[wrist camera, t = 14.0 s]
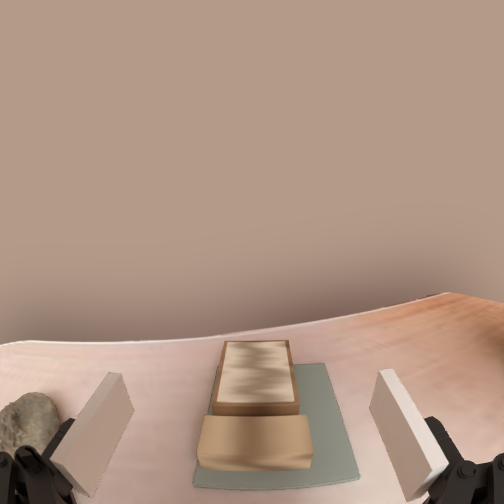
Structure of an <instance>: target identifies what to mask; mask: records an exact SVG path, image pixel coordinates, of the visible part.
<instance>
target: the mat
mask: <svg viewBox="0 0 504 504" xmlns="http://www.w3.org/2000/svg"><path fill="white" fill-rule="evenodd" d="M293 369H294V375H295V380H296V386H297V392H298V397H299V403H300V407H299V415H306V414H307V418H308V424H309V429H310V435H311V440H312V446H313V457H312V461H311V465H310V469H300V470H285V471H224V470H209V469H201V466H200V463H199V459H198V462H197V467H196V471H195V476H194V481H193V486H195V487H204V488H216V489H233V490H278V489H295V488H306V487H316V486H324V485H331V484H337V483H343V482H349V481H354V480H359V479H360V474H359V471H358V467H357V464H356V461H355V457H354V454H353V451H352V448H351V444H350V441H349V438H348V435H347V431H346V428H345V425H344V422H343V419H342V416H341V413H340V409H339V406H338V403H337V400H336V397H335V394H334V391H333V388H332V385H331V382H330V379H329V376H328V373H327V370H326V367H325V364H324V363H317V364H302V365H293ZM218 370H219V366H218V367H217V372H216V377H215V381H214V386H213V391H212V395H211V400H210V405H209V409H208V414H207V415H211V416H213V412H212V406H211V405H212V400H213V395H214V390H215V385H216V380H217V375H218Z"/></svg>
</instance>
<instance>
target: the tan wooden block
mask: <svg viewBox="0 0 504 504" xmlns="http://www.w3.org/2000/svg"><path fill="white" fill-rule="evenodd" d="M197 456H198V459H199V463H200V466H201V469H209V470H224V471H285V470H300V469H310V465H311V461H312V457H313V446H312V440H311V435H310V429H309V424H308V418H307V414H306V415H291V416H265V417H238V416H211V415H205V416H204V420H203V425H202V429H201V434H200V438H199V443H198V447H197Z"/></svg>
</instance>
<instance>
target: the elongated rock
mask: <svg viewBox="0 0 504 504" xmlns="http://www.w3.org/2000/svg"><path fill="white" fill-rule="evenodd" d="M59 425H60V420H59V419H58V417H57V408H56V406H55V405H54V403H53V402H52V401H51V400H50V399H49V398H48V397H47V396H46V395H44V394H42V393H38V392H34V393H27V394H25V395H23V396H21V397H20V398H19V399H18V400H17V401H15V402H14V403H11V402H10V403H9V405H7V406H5V408H4V409H2V410H1V412H0V452H1V451H4V452H8V453H9V454H10V455H11V456H12V458H13V459H14V453H15V451H16V450H17V449H18V448H19V447H21V446H24V445H29V446H32V447H34V448H35V449H36V450H37V452H38V453H39V454H40V456H41V454H42V453H43V451H44V450H45V448H46V447H47V445H48V444H49V442H50V441H51V440H52V438H53V437H54V435H55V434H56V432H58V429H59V428H60V426H59Z"/></svg>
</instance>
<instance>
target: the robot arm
mask: <svg viewBox="0 0 504 504" xmlns="http://www.w3.org/2000/svg"><path fill="white" fill-rule="evenodd" d="M369 409H370V412H371V414H372V416H373V419H374V421H375V423H376V426H377V428H378V430H379V433H380V435H381V438H382V440H383V442H384V445H385V447H386V450H387V452H388V455H389V457H390V460H391V462H392V465H393V467H394V470H395V472H396V475H397V478H398V480H399V483H400V486H401V488H402V491H403V493H404V496H405V499H406V502H409V501H412V500H415V499H417V498H420V497H422V496H423V495H424V494H425V493H426V492H427V491H428V493H429V495H430V496H429V497H428V498H427V499H426V500H425V501H424V502H423V504H504V453H501V454H499V455H498V456H496V457H495V459H494V460H493V461H492V462H488V463H483V464H475V463H474V462H471V461H469V460H464V459H463V458H462V456H461V454H460V453H459V451H458V449H457V448H456V446H455V444H454V443H453V441H452V439H451V438H450V437H449V435H448V433H447V431H445V428H444V427H443V425H442V423H441V422H440V421H439V420H437V419H436V418H434V417H433V416H431V417H428V418H425V419H423V417H422V415H421V414H420V412H419V410H418V409H417V407H416V405H415V404H414V402H413V400H412V399H411V397H410V396H409V394H408V392H407V391H406V389H405V388H404V386H403V384H402V383H401V381H400V380H399V378H398V376H397V375H396V373H395V372H394V370H393V369H392V368H390V369H385V370H379V372H378V377H377V381H376V385H375V389H374V392H373V396H372V400H371V403H370V407H369ZM133 412H134V408H133V405H132V403H131V400H130V397H129V395H128V392H127V389H126V387H125V384H124V381H123V378H122V375H121V374H120V373H113V372H109V373H108V374H107V376H106V377H105V378H104V380H103V381H102V382H101V384H100V385H99V387H98V388H97V390H96V391H95V392H94V394H93V395H92V397H91V398H90V399H89V401H88V402H87V404H86V405H85V407H84V408H83V410H82V411H81V412H80V414H79V415H78V417H77V418H76V420H75V419H72V418H70V419H68V420H67V421H65V422H64V423H63V424H62V425H61V427H60V428H59V429H58V432H56V434H55V435H54V437H53V438H52V440H51V441H50V442H49V444H48V445H47V447H46V448H45V450H44V451H43V453H42V454H41V456H40V454H39V453H38V452H37V450H36V449H35V448H34V447H32V446H29V445H24V446H21V447H19V448H18V449H17V450H16V451H15V453H14V459H13V458H12V456H11V455H10V454H9V453H8V452H4V451H1V452H0V504H77V503H76V501H75V498H74V495H73V493H72V491H71V490H72V488H73V487H74V488H75V489H76V490H77V491H78V493H80V494H83V495H85V496H88V497H91V498H93V496H94V493H95V491H96V489H97V487H98V485H99V482H100V480H101V478H102V476H103V474H104V472H105V470H106V467H107V465H108V463H109V461H110V459H111V457H112V455H113V453H114V451H115V449H116V446H117V444H118V442H119V440H120V438H121V436H122V434H123V432H124V430H125V428H126V426H127V424H128V422H129V420H130V418H131V416H132V414H133Z"/></svg>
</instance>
